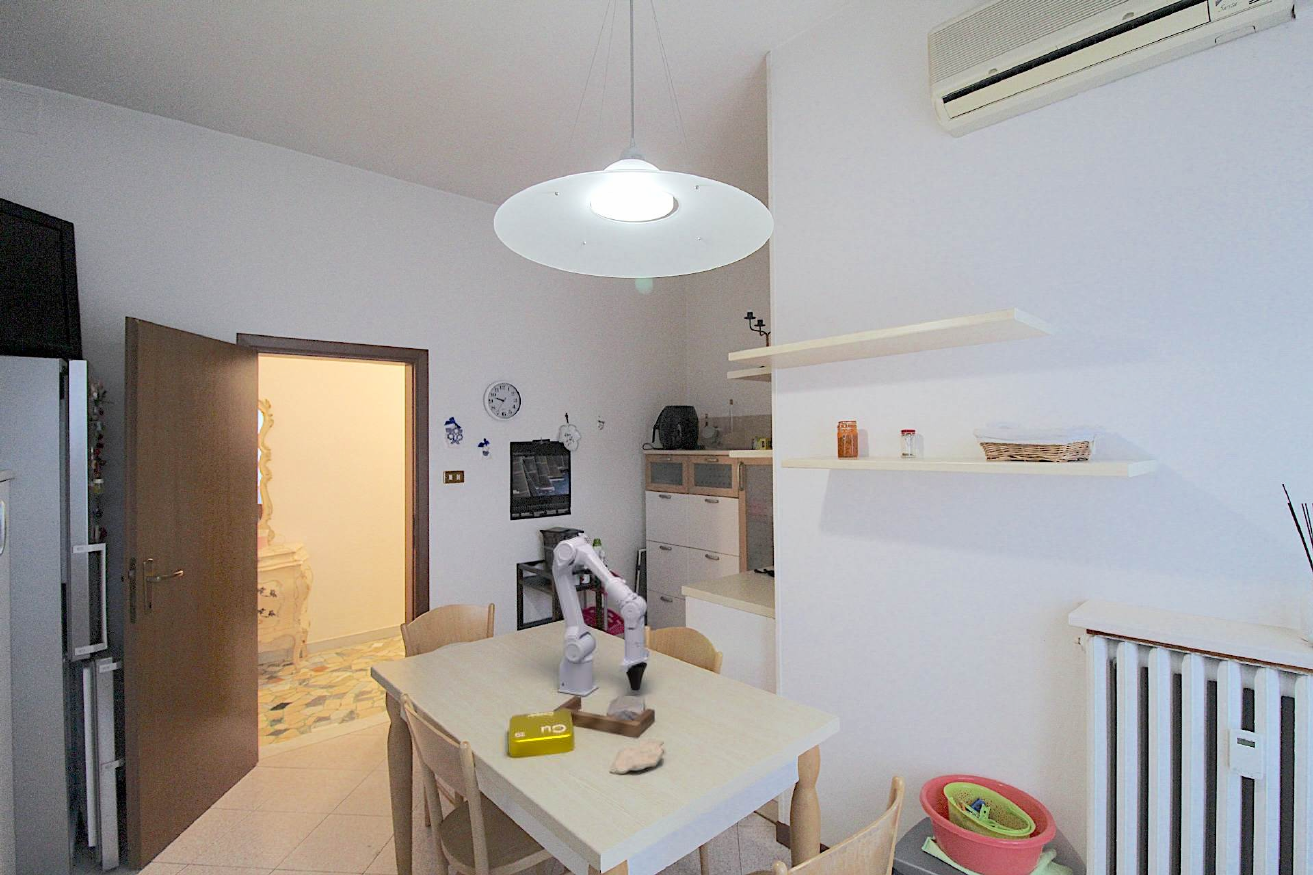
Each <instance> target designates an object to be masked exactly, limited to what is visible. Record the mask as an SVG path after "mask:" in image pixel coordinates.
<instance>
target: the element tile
mask: <svg viewBox="0 0 1313 875" xmlns="http://www.w3.org/2000/svg"><path fill="white" fill-rule="evenodd" d="M508 727H509V728H508V729H509V730H508V757H510V758H511V759H523V758H533V757H541V756H549V755H550V756H551V755H556V754H558V755H559V754H564V753H565V754H566V753H570V752H572V751H574V749H575V730H574V726H573V723H572V717H571V713H570V712H569V711H568V710H561V711H554V710H553V711H552V710H551V711H544V712H543V711H542V712H534V713H525V714H515V715H513V716H512V717H510V718H509V726H508Z"/></svg>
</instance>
